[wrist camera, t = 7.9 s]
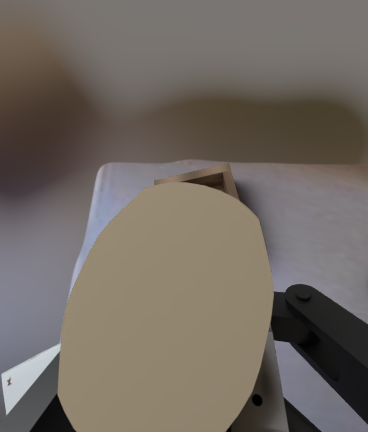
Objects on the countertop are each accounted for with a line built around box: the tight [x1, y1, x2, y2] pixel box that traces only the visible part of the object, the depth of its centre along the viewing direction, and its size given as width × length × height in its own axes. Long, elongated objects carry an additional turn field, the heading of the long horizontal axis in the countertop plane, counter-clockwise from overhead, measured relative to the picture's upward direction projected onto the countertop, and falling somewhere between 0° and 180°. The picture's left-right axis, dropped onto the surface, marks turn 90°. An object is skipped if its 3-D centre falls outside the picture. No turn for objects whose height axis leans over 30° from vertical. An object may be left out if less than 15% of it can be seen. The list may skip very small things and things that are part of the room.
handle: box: [58, 182, 274, 432], centre depth 12 cm, size 5×6×15 cm
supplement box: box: [2, 343, 61, 414], centre depth 26 cm, size 7×7×13 cm
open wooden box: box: [154, 163, 240, 201], centre depth 34 cm, size 11×11×5 cm
